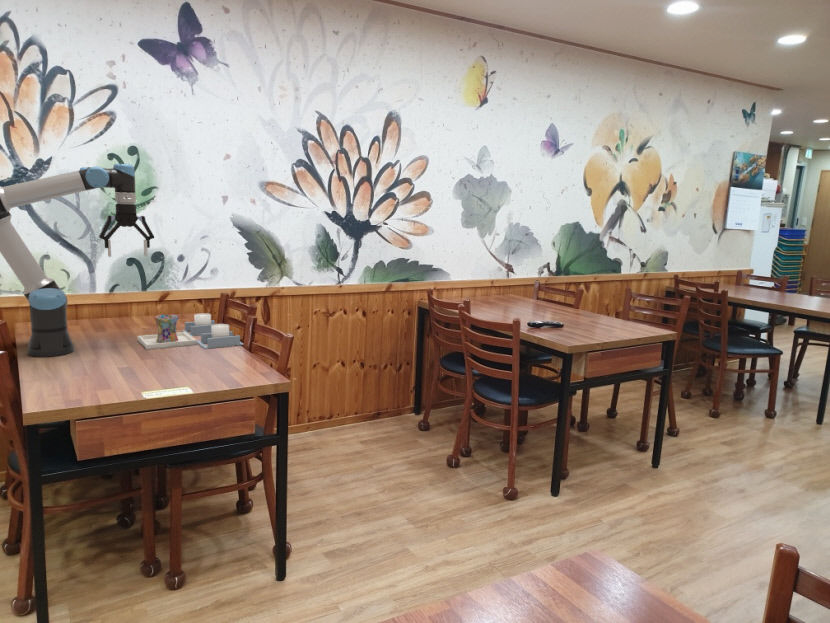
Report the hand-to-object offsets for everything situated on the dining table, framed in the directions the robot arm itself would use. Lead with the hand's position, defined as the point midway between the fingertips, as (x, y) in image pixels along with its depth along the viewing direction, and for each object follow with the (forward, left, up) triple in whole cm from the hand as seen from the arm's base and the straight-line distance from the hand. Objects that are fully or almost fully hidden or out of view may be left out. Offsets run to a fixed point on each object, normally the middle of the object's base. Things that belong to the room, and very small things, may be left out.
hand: (128, 256), depth 249 cm
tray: (+11, -13, -35) cm, 39 cm away
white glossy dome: (+29, 0, -35) cm, 46 cm away
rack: (+29, -12, -35) cm, 47 cm away
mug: (+11, -13, -34) cm, 38 cm away
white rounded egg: (+29, -25, -35) cm, 52 cm away
